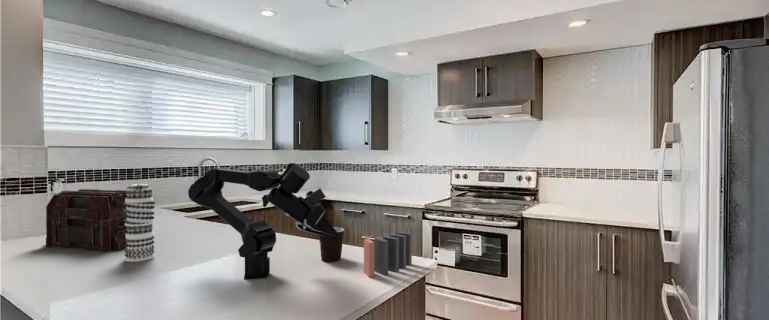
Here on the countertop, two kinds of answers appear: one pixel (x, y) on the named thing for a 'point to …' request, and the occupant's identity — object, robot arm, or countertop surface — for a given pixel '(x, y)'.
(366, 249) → the domino
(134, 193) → the decorative candle
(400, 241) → the domino
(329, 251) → the coffee mug
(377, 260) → the domino
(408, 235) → the domino
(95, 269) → the countertop surface
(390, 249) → the domino
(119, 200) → the crate
